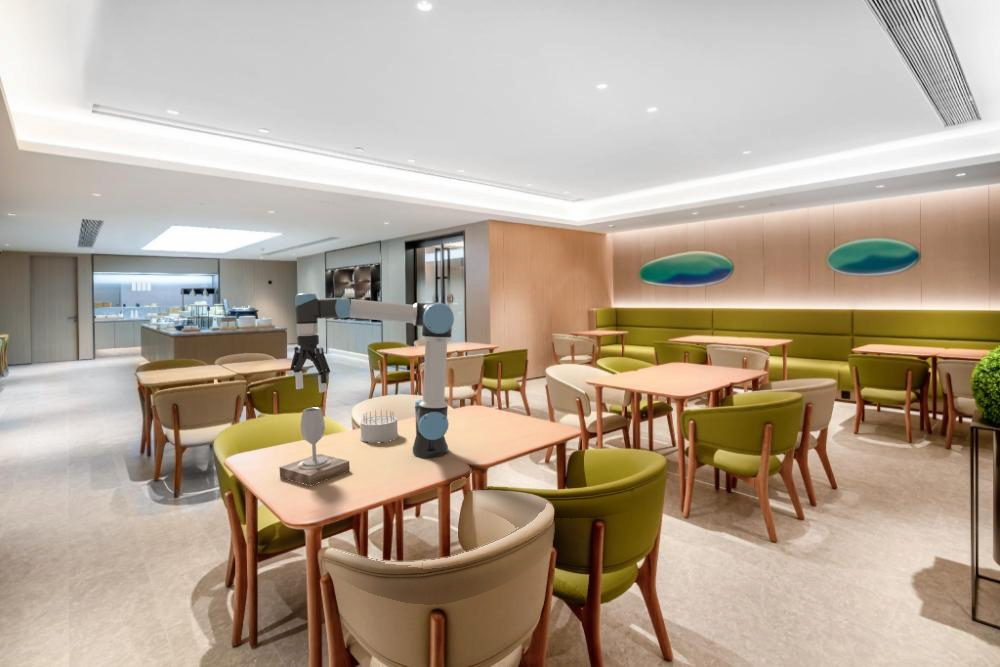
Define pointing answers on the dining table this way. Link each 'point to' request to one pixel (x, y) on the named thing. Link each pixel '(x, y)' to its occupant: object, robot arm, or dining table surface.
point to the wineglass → (313, 433)
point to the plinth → (314, 470)
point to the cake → (379, 428)
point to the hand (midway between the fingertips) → (311, 390)
